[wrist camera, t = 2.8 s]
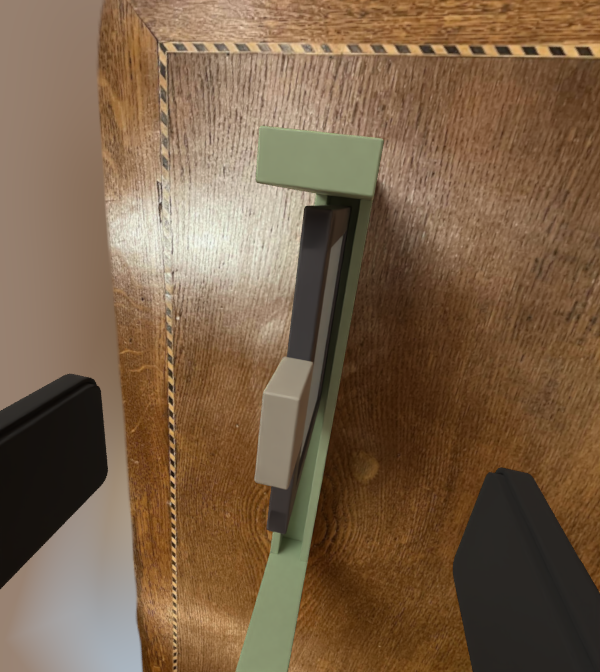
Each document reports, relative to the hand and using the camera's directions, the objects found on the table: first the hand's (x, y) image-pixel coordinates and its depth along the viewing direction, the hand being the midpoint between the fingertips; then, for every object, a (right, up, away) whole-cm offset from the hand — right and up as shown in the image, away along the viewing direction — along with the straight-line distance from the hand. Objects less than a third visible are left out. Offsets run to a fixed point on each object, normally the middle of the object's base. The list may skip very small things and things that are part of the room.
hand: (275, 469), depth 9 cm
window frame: (+2, -1, +16) cm, 16 cm away
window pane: (+2, +4, +12) cm, 13 cm away
